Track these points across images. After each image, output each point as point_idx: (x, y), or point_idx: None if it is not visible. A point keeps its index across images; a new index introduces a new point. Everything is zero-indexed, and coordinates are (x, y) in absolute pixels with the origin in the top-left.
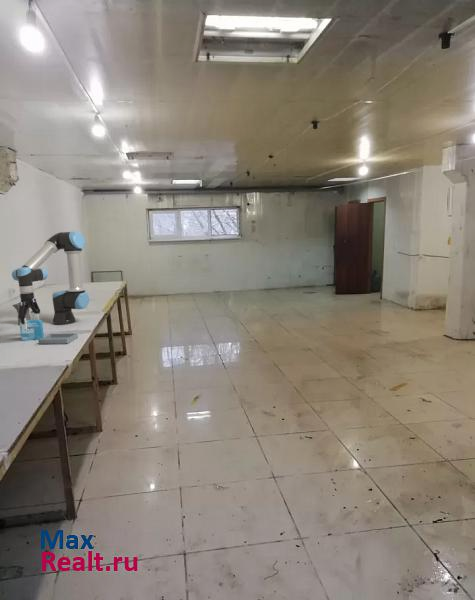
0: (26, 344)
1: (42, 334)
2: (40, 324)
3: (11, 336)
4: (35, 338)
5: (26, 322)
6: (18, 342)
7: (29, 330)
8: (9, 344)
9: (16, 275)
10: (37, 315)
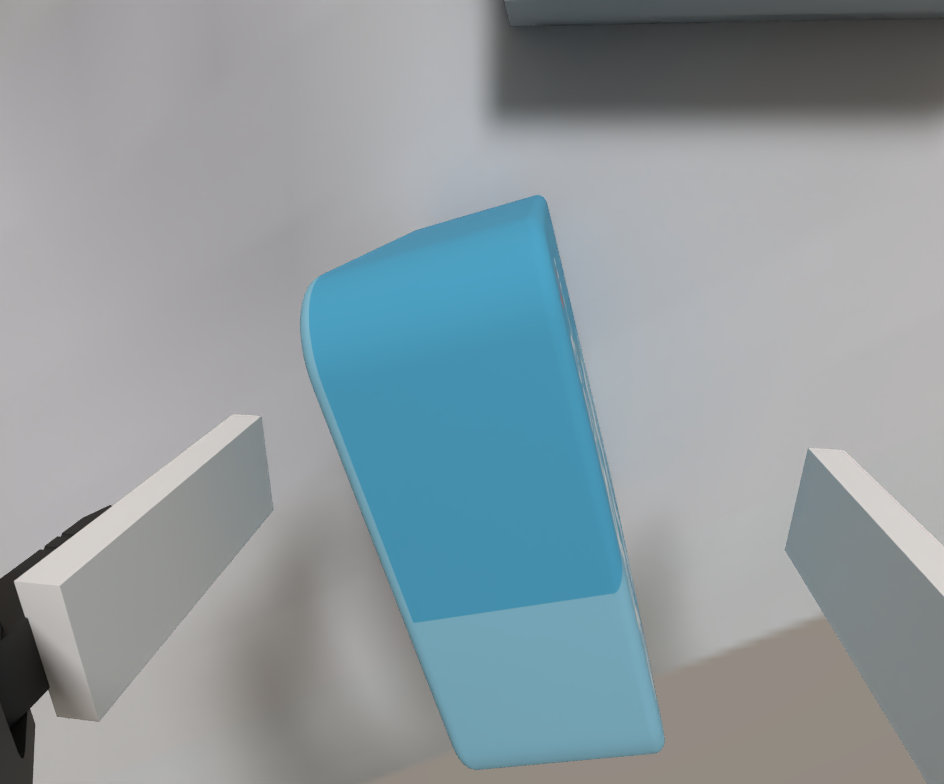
0: (872, 309)
1: (496, 207)
2: (535, 212)
3: (354, 728)
4: (571, 309)
5: (633, 614)
6: (693, 507)
7: (601, 450)
8: (786, 581)
9: None
10: (109, 556)
